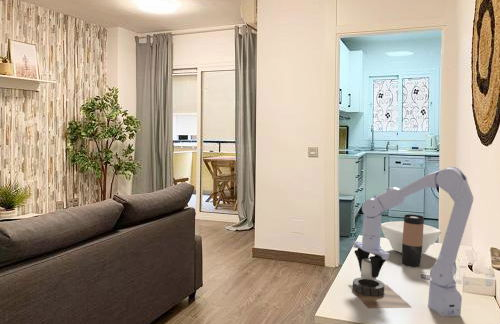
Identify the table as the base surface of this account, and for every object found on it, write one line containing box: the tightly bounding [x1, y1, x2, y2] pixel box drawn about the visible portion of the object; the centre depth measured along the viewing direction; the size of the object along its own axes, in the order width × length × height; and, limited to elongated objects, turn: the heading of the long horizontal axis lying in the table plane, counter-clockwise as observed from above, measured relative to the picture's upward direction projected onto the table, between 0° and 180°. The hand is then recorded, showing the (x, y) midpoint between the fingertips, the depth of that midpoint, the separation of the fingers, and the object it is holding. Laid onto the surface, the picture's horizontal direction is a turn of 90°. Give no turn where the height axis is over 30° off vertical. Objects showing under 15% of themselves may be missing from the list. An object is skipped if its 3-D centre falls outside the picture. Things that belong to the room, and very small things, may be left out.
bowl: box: [381, 220, 442, 255], centre depth 188 cm, size 22×22×12 cm
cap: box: [360, 257, 377, 280], centre depth 140 cm, size 5×5×6 cm
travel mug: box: [401, 214, 425, 268], centre depth 171 cm, size 8×8×20 cm
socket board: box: [347, 276, 412, 309], centre depth 136 cm, size 18×14×4 cm
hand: (369, 274), depth 140 cm, fingers closed on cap, 5 cm apart
